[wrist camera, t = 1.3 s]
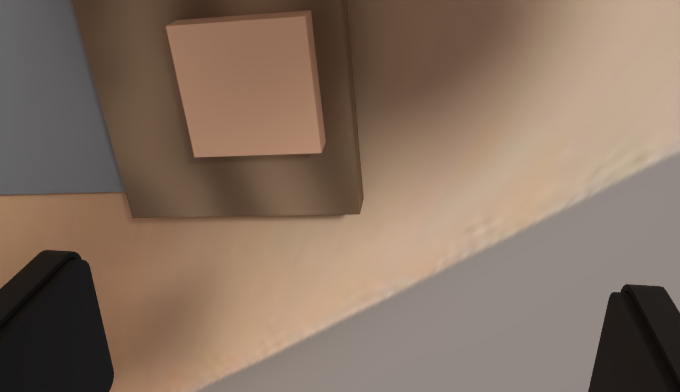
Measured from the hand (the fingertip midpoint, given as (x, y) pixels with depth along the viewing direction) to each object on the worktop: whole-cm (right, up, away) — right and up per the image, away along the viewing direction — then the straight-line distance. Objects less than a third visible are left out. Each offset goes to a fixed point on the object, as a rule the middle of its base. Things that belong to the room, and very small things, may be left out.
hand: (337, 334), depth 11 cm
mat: (-20, +9, +25) cm, 33 cm away
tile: (-5, +8, +21) cm, 23 cm away
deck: (-6, +9, +23) cm, 26 cm away
